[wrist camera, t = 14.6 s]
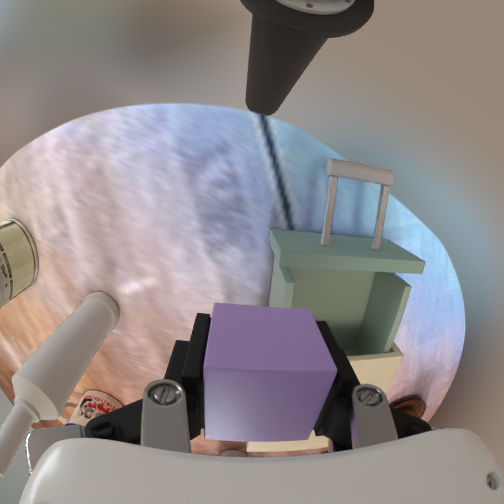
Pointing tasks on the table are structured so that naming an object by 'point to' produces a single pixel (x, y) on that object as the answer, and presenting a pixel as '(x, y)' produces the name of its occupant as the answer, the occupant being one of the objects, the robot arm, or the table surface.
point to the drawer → (346, 272)
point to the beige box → (368, 372)
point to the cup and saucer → (412, 407)
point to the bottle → (55, 370)
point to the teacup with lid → (90, 407)
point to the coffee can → (16, 260)
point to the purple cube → (264, 374)
